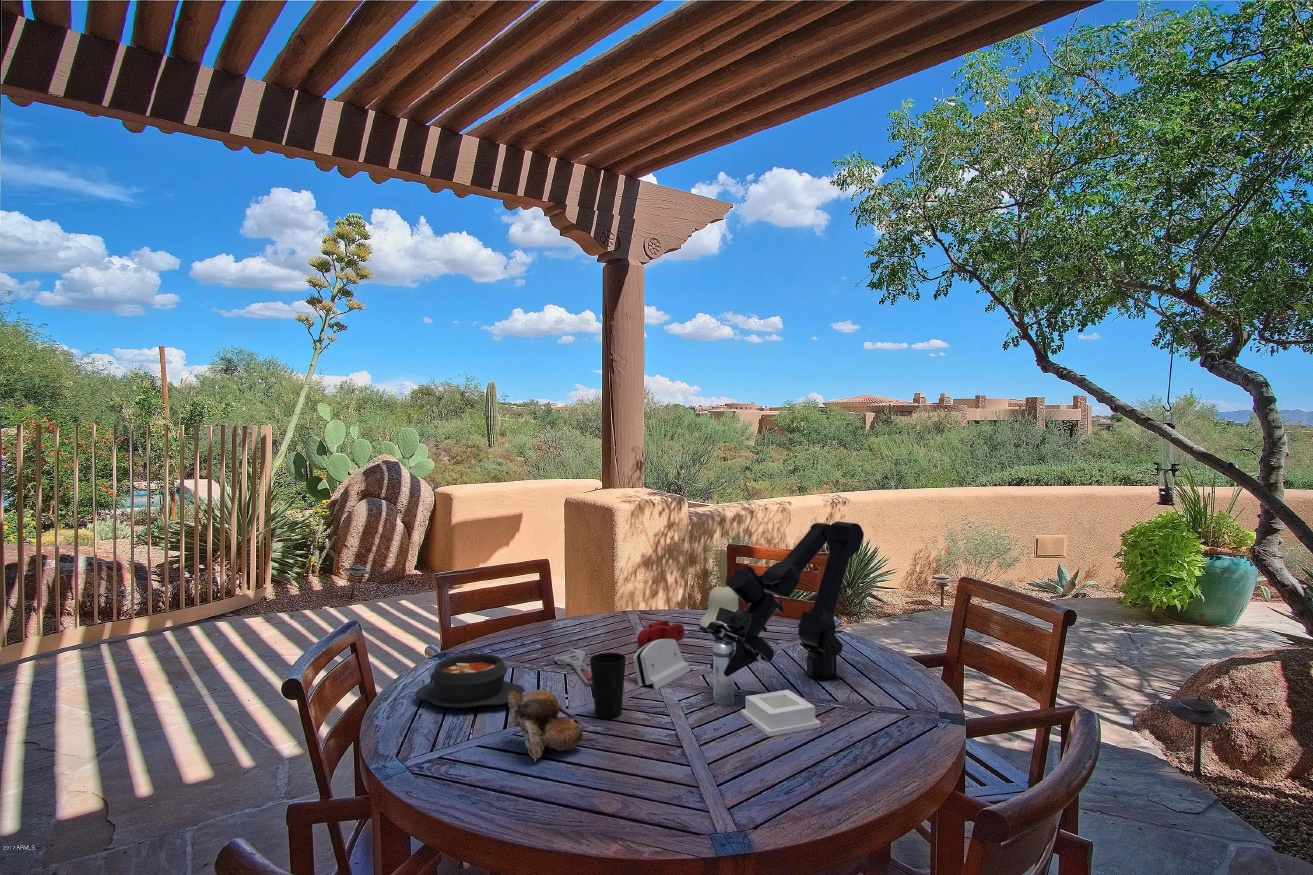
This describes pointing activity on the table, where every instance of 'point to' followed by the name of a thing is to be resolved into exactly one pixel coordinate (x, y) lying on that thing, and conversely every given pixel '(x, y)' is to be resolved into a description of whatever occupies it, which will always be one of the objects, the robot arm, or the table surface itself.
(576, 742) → the seed pod
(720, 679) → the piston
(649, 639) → the mechanical linkage
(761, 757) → the table surface
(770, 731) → the white square hollow block
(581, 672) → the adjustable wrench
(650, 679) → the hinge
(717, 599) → the handbell
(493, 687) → the casserole
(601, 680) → the cup
